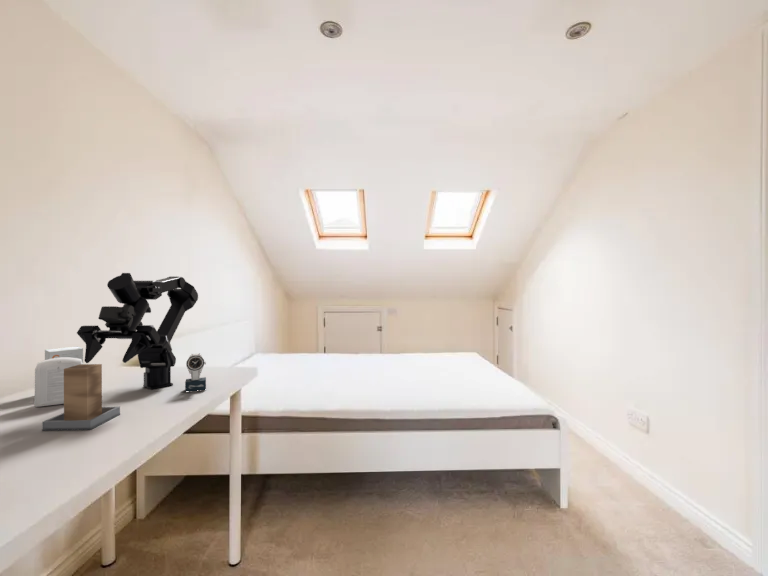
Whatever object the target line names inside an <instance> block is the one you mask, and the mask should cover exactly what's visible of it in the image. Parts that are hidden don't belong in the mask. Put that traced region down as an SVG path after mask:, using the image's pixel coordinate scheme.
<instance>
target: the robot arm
mask: <svg viewBox="0 0 768 576" xmlns="http://www.w3.org/2000/svg"><path fill="white" fill-rule="evenodd" d="M107 289H109V291H110V292H111V294H112V295H113V297H114V298H115V300H116V301H117V303H119V304H122V306H109V305H108V306H101V309H100V312H99V315H98V319H99V320H100V321H102V322H105V324H104V326H105V327H106V328H107V329H108V328H109V329H108V330H107V329H101V328H100V327H99V325H81V326H80V327H79V328H78V330H77V332H76V335H78V336H79V338H80V339H81V340H82V341H83V343H85V351H84V352H85V353H84V363H85V364H89V363H90V362H91V361H92V360H93V359H94V358H95V357H96V355H97V354H98V353H99V352H100V351H101V350H102V348H103V347H104V346H103V344H105V342H106V339H118V340H131V341H130V344H129V345H128V347H127V349H126V351H125V352H124V355H123V358H122V362H123V364H124V363H125V364H126V363H128V362H129V361H130V360H132V359H133V358H134V357H136V356H137V359H138V362H139V367H140V369H144V368H145V372H143V384H142V386H143V387H144V388H147V389H149V390H155V389H160V388H164V387H165V388H166V387H170V385H171V386H174V383H172V381H171V378H172V377H171V376H172V375H171V373H172V371H171V370H172V369H171V368H172V367H175V365H176V362H177V359H176V358H177V357H176V356H175V355H174V353H173V348H172V345H171V341H172V339H173V338H174V336H175V333H176V331H177V329H178V327H179V325H180V324H181V321H182V319H183V317H184V315H185V313H186V312H187V311H189V310H191V309H192V308H193V307H194V306H195V304H197V302H198V299H199V293H198V291H197V290H196V288H195V286H194V285H192V284H190V283H189V282H187V281H186V279H185V278H184V277H182V276H168V277H164V278H160V279H156V280H134V279H133V277H132V275H131V273H130V272H122V273H121V274H120V275H117V276H115V277H113V278H112V279H110V280H109V281H108V282H107ZM163 293H166V294H167V297H168V298H169V302H170V304H171V305H170V306H169V309H168V310H167V312H166V314H165V316H164V317H163V319H162V321H161V323H160V324H159V327H158V329H156V327H155V326H154V325H153V324H149V325H148V324H147V325H146V324H143V322H142V320H143V318H144V316H145V314H151V313H152V309H151V306H150V304H149V302H148V301H149V300H151V301H153V300H155V301H156V300H157V299H159V298H160V297H162V296H163Z"/></svg>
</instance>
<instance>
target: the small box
mask: <svg viewBox="0 0 768 576" xmlns="http://www.w3.org/2000/svg"><path fill="white" fill-rule="evenodd" d="M61 357H71V358H78V359H82V363H83V364H84V348H83V347H80V346H68V347H59V348H49V349H44V360H48V359H53V358H61Z"/></svg>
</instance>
